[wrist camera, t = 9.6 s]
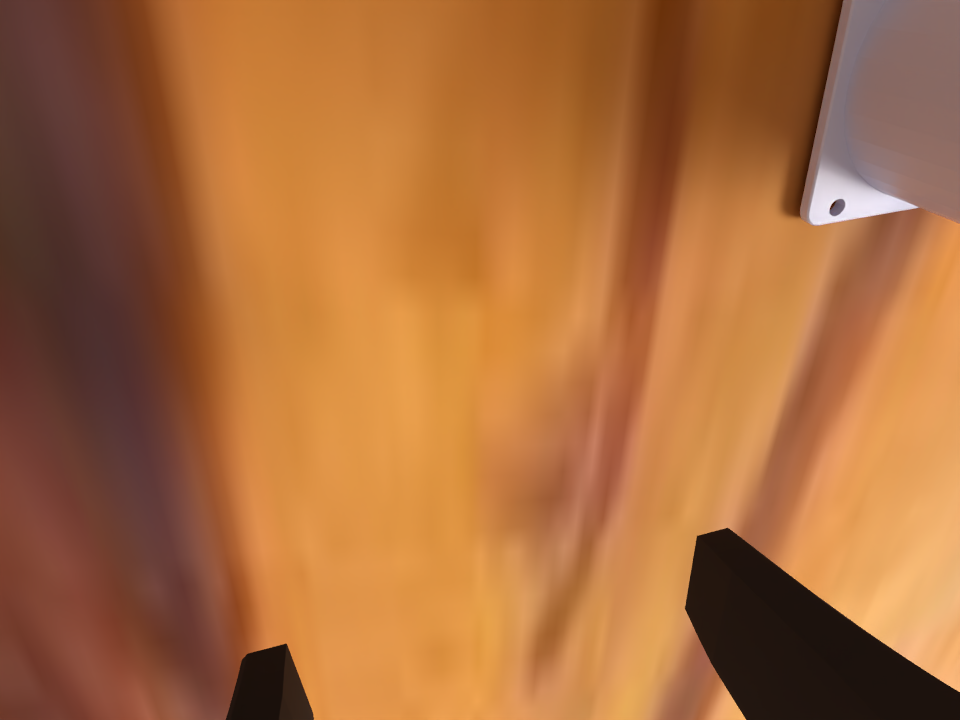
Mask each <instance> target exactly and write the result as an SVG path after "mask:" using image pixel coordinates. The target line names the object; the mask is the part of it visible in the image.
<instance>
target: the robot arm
mask: <svg viewBox="0 0 960 720" xmlns="http://www.w3.org/2000/svg"><path fill="white" fill-rule="evenodd" d="M834 201H836V203H835V205H834V207H833V208H832V209H831V210H830V207H831V205H832V203H833V202H834ZM914 208H922V209H925V210H927V211H930V212H932V213H935V214H937V215H940V216H942V217H945V218H947V219H950V220H952V221H955V222H957V223H960V0H844V1H843V5H842V10H841V15H840V20H839V25H838V29H837V34H836V39H835V44H834V49H833V53H832V58H831V63H830V68H829V73H828V77H827V82H826V87H825V92H824V97H823V101H822V106H821V111H820V116H819V121H818V125H817V130H816V135H815V140H814V145H813V150H812V154H811V159H810V164H809V169H808V174H807V178H806V183H805V188H804V193H803V198H802V202H801V207H800V216H801V218H802V220H804V221H805V222H807V223H809V224H811V225H817V226H818V225H824V224H829V223H835V222H841V221H846V220H852V219H858V218H863V217H869V216H875V215H880V214H886V213H892V212H897V211H903V210H909V209H914ZM685 609H686V612H687V614H688V616H689V618H690V620H691V622H692V624H693V627H694V629H695V631H696V633H697V635H698V637H699V639H700V641H701V643H702V645H703V647H704V649H705V651H706V653H707V655H708V657H709V659H710V661H711V663H712V665H713V667H714V668H715V670H716V672H717V673H718V675H719V677H720V678H721V680H722V682H723V683H724V685H725V686H726V688H727V690H728V691H729V693H730V694H731V696H732V698H733V699H734V701H735V702H736V704H737V706H738V707H739V709H740V710H741V712H742V714H743V715H744V717H745V718H746V720H960V692H958V691H957V690H955V689H953V688H952V687H950V686H948V685H947V684H945V683H943V682H942V681H940V680H939V679H937V678H935V677H934V676H932V675H931V674H929V673H928V672H926V671H925V670H923V669H921V668H920V667H918V666H917V665H915V664H914V663H912V662H911V661H909V660H908V659H906V658H905V657H903V656H902V655H900V654H899V653H897V652H896V651H894V650H893V649H891V648H890V647H888V646H887V645H885V644H884V643H882V642H881V641H879V640H878V639H876V638H875V637H874V636H872V635H871V634H869V633H868V632H866V631H865V630H863V629H862V628H861V627H859V626H858V625H856V624H855V623H854V622H852V621H851V620H850V619H848V618H847V617H845V616H844V615H843V614H841V613H840V612H838V611H837V610H836V609H834V608H833V607H832V606H830V605H829V604H827V603H826V602H825V601H823V600H822V599H821V598H819V597H818V596H816V595H815V594H814V593H812V592H811V591H810V590H808V589H807V588H806V587H804V586H803V585H802V584H801V583H799V582H798V581H797V580H795V579H794V578H793V577H791V576H790V575H789V574H787V573H786V572H785V571H783V570H782V569H781V568H780V567H778V566H777V565H776V564H774V563H773V562H772V561H770V560H769V559H768V558H767V557H765V556H764V555H763V554H761V553H760V552H759V551H758V550H756V549H755V548H754V547H752V546H751V545H750V544H748V543H747V542H746V541H745V540H743V539H742V538H741V537H739V536H738V535H737V534H735V533H734V532H733V531H731V530H730V529H729V528H726V529H722V530H718V531H714V532H710V533H707V534H703V535H699V536H697V540H696V546H695V552H694V558H693V564H692V570H691V576H690V582H689V588H688V594H687V600H686V606H685ZM226 720H314V717H313V712H312V709H311V707H310V704H309V701H308V699H307V696H306V693H305V691H304V688H303V686H302V683H301V680H300V678H299V675H298V672H297V670H296V667H295V664H294V662H293V659H292V657H291V654H290V651H289V649H288V646H287V644H283V645H280V646H276V647H272V648H268V649H264V650H260V651H257V652H253V653H249V654H247V655H246V656H245V657H244V658H243V660H242V662H241V666H240V670H239V675H238V679H237V682H236V686H235V690H234V693H233V697H232V701H231V704H230V708H229V711H228V714H227V718H226Z"/></svg>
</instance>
